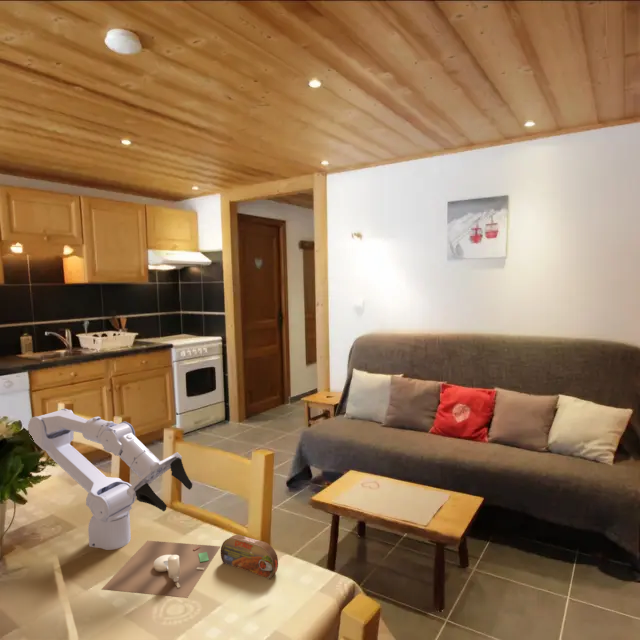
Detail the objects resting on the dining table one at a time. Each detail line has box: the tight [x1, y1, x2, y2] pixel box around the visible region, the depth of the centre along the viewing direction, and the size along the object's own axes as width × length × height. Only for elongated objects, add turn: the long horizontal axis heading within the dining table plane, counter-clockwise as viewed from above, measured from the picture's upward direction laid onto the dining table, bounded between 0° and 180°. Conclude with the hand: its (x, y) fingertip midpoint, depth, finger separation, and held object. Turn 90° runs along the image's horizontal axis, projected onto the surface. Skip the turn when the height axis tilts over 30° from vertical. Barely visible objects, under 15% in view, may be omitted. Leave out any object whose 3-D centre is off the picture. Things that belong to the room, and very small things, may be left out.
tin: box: [220, 534, 279, 581], centre depth 106 cm, size 15×3×8 cm, turn 62°
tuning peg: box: [154, 555, 180, 582], centre depth 105 cm, size 10×5×5 cm, turn 36°
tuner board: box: [101, 540, 222, 599], centre depth 108 cm, size 20×19×2 cm
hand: (178, 497), depth 108 cm, fingers open, 7 cm apart
